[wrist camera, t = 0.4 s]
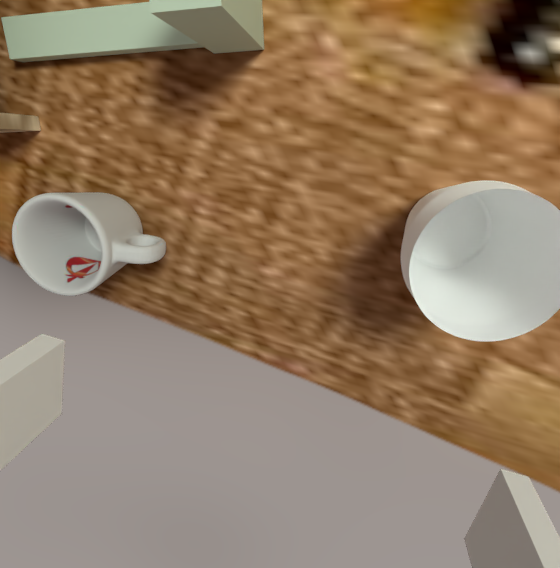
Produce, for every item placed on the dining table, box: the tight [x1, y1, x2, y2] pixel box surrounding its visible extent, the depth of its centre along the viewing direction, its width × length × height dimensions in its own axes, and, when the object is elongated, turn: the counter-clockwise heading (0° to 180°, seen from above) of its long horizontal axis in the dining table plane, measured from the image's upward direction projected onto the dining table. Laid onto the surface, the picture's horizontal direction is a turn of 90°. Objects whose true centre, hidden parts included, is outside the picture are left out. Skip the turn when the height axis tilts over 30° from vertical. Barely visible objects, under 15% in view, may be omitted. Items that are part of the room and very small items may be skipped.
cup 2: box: [401, 181, 560, 341], centre depth 29 cm, size 9×9×12 cm
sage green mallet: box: [1, 0, 264, 62], centre depth 29 cm, size 4×21×11 cm, turn 92°
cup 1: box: [12, 193, 166, 296], centre depth 35 cm, size 11×8×8 cm
